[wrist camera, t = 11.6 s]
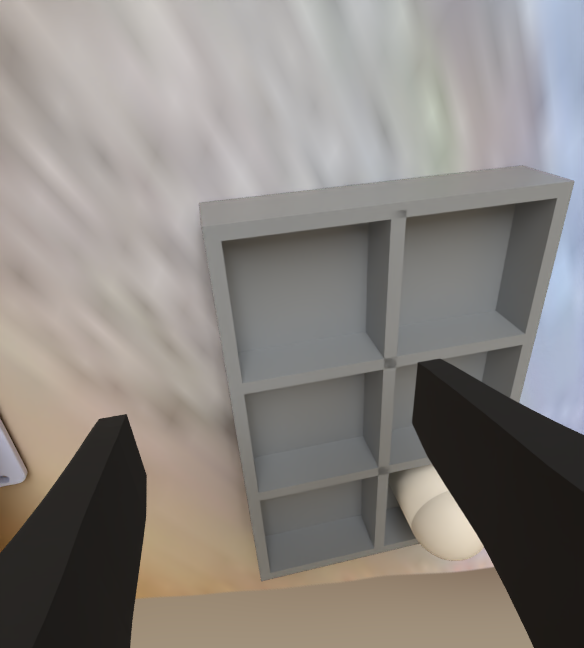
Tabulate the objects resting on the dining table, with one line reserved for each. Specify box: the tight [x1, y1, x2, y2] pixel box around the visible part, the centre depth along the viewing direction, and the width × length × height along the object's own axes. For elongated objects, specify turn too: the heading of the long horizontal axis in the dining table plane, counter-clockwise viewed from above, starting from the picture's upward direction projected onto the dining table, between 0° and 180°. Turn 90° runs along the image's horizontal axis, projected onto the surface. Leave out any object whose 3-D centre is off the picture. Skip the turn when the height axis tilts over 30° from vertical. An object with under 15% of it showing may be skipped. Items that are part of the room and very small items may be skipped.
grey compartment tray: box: [199, 166, 574, 581], centre depth 24 cm, size 15×22×3 cm
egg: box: [388, 464, 484, 561], centre depth 26 cm, size 4×4×6 cm
